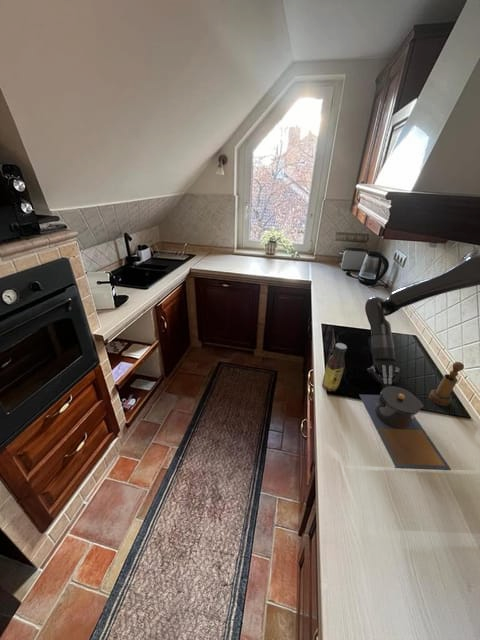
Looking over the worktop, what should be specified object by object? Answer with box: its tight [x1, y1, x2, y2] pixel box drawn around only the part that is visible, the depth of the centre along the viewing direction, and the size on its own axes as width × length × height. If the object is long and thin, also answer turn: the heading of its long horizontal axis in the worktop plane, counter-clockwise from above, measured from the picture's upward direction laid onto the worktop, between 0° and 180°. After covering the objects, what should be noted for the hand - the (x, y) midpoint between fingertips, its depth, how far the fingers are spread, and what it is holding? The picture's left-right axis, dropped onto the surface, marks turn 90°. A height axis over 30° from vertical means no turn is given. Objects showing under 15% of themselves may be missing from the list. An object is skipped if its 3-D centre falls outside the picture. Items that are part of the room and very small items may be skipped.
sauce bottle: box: [321, 342, 348, 393], centre depth 96 cm, size 7×6×20 cm
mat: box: [358, 393, 452, 471], centre depth 85 cm, size 16×28×1 cm, turn 179°
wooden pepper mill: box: [428, 361, 465, 407], centre depth 92 cm, size 7×6×18 cm
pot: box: [374, 385, 424, 429], centre depth 87 cm, size 15×12×10 cm
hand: (387, 394), depth 93 cm, fingers closed
